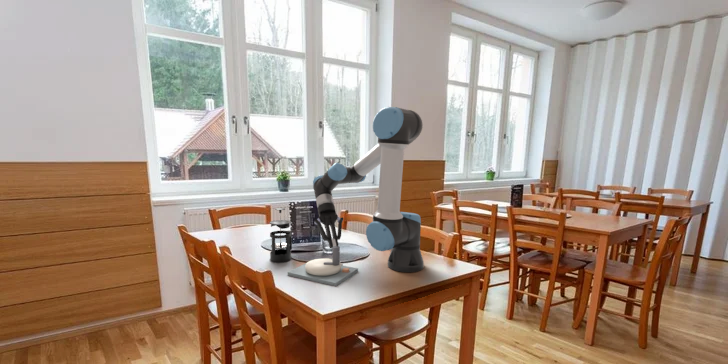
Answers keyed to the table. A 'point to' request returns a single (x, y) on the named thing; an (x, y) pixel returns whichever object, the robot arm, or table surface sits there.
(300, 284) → the table surface
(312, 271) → the dial
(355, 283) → the table surface
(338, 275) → the dial board
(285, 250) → the french press
